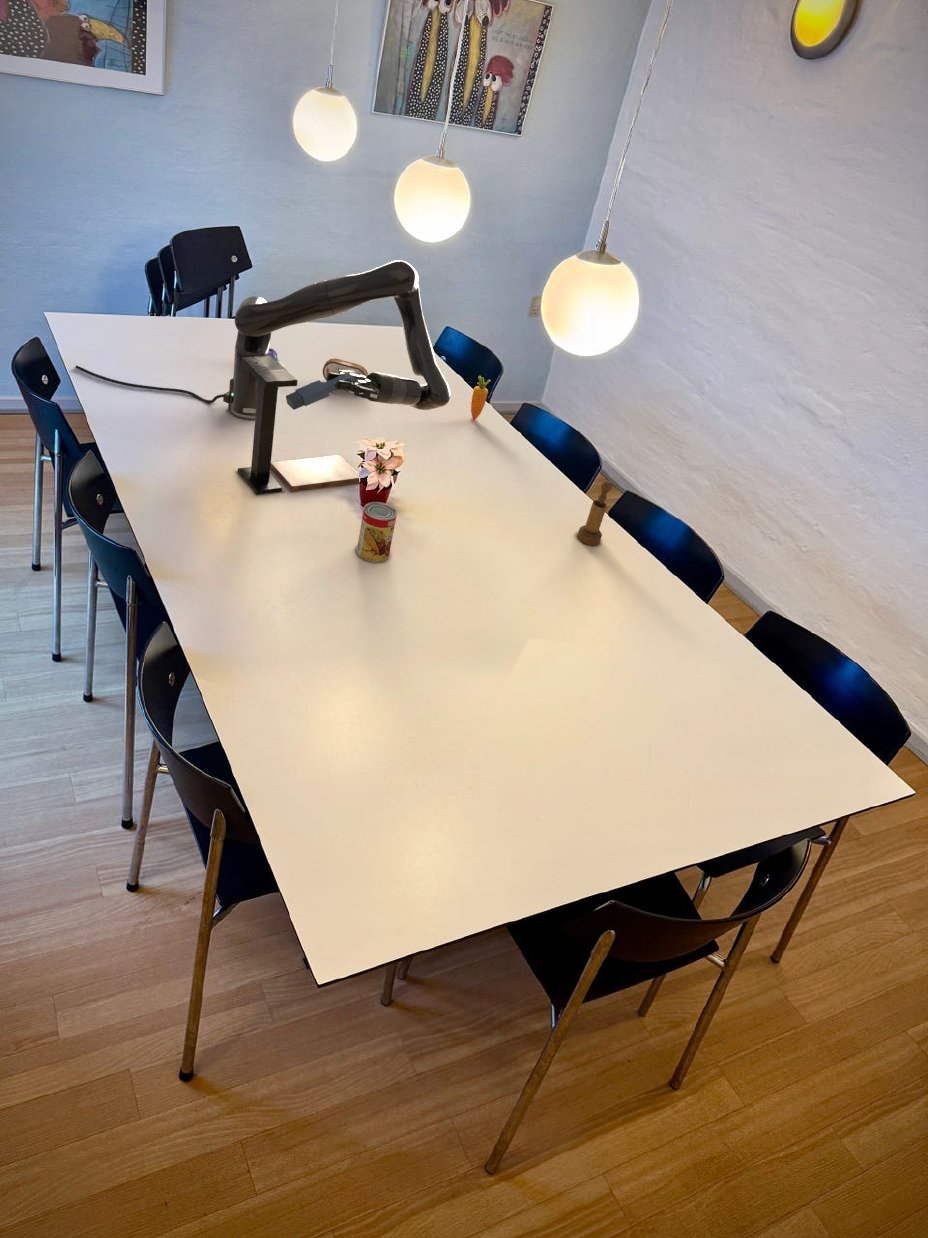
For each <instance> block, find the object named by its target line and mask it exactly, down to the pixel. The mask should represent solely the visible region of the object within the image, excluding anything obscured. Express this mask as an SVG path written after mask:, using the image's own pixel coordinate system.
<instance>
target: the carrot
mask: <svg viewBox="0 0 928 1238" xmlns="http://www.w3.org/2000/svg"><path fill="white" fill-rule="evenodd" d="M477 380H478V382H477V383H476V384H477V385H476V386H475V387H474V388H473V390H472V391H473V392H472V396H471V402H470V413H471V418H472V420H473V421H475V420H477V419H478V418H479V417H480V415H481V413H482V411H483V409H484V407H485V404H486V402H487V397H488V393H489V390H488V389H487V388H486V387H487V385H488V384H489V383H490V382H491V379H488V380H486V381H485V378H484V377H482V376H481V375H479V376H478V377H477Z"/></svg>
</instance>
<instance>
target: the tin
mask: <svg viewBox="0 0 928 1238" xmlns="http://www.w3.org/2000/svg"><path fill="white" fill-rule="evenodd" d="M339 370H353V371H355V372H354V374H356V375H363V376H366V377H367V376H368V375H369V373H368V370H367V369H366V368H365V367H364V366H362V365H361V364H358V363H355V362H350V361H346V360H343V359H340V358H330V359H328V360H326V362H325V363H324V365H323V367H322V376H323V378H324V380H325V382H327V380H326V378H327V375H328V373H329V372H331V373H338V372H339ZM350 384H351V383H350Z"/></svg>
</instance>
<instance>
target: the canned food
mask: <svg viewBox="0 0 928 1238" xmlns="http://www.w3.org/2000/svg"><path fill="white" fill-rule="evenodd" d="M397 515H398V511H397V510H396V508H395V507H393V506H392V505H390V504H388V503H386V502H381V501H371V502H368V503H366V504H365V505H364V506H363V509H362V517H361V522H360V528H359V535H358V540H357V546H356V553H357V555H358V556H359V557H360V558H361V559H363V560H365V561H368V562H372V563H382V562H385V561H386V560H388V558H389V557H390V553H391V552H390V551H391V547H392V541H393V537H394V531H395V526H396V521H397Z"/></svg>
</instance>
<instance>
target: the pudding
mask: <svg viewBox="0 0 928 1238" xmlns="http://www.w3.org/2000/svg"><path fill="white" fill-rule="evenodd" d="M270 356H272V357H273V358H274V359H276V360H277V361H278V362H279V363H280V364H281V365H282V366H283V367H284V368H285V369H286V364H284V362H283V361H281V360H279V358H278V353H277V351H276V350H275V349H273V348H271V347H270V348H269V353H268V357H270Z"/></svg>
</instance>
